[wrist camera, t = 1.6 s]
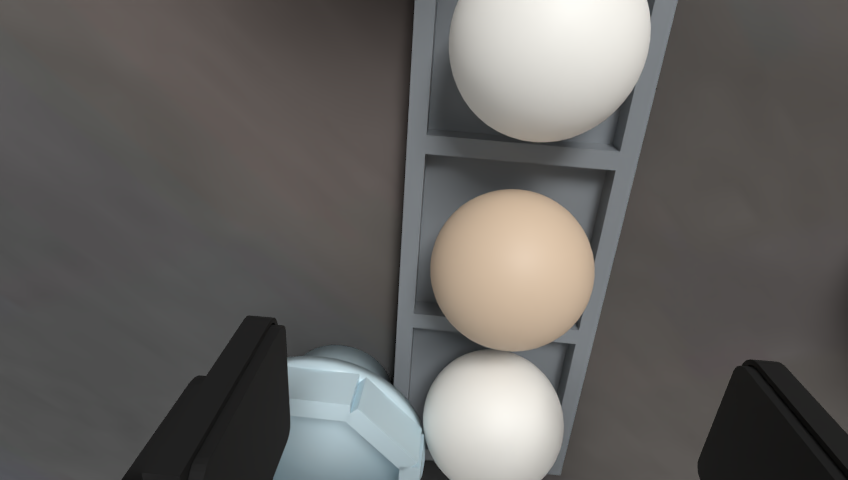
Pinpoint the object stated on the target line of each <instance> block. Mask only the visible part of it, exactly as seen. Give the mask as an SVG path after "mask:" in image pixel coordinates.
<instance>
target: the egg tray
mask: <svg viewBox="0 0 848 480" xmlns="http://www.w3.org/2000/svg"><path fill="white" fill-rule="evenodd" d="M677 1H678V0H647V2H648V6H649V11H650V21H651V35H650V44H649V50H648V55H647V58H646V62H645V65H644V68H643V70H642V72H641V75H640V77H639V79H638V81H637V83H636V85H635V86H634V88H633V90H632V91H631V93H630V94H629V96H628V97H627V98H626V100H625V101H624V102H623V103H622V104H621V105H620V107H619V108H618V109H617V110H616V111H615V112H614V113H613V114H611V115H610V116H609V117H608V118H607V119H606V120H604V121H603V122H601V123H600V124H598V125H597V126H595V127H594V128H592V129H590V130H588V131H586V132H584V133H582V134H580V135H577V136H575V137H572V138H569V139H564V140H560V141H553V142H530V141H523V140H519V139H516V138H512V137H509V136H507V135H504V134H502V133H500V132H498V131H496V130H494V129H493V128H491V127H489V126H488V125H487V124H485V123H484V122H483V121H482V120H481V119H479V118H478V117H477V116H476V115H475V113H474V112H473V111H472V110H471V109H470V108H469V106H468V105H467V104H466V102H465V101H464V99H463V97H462V96H461V94H460V92H459V90H458V88H457V85H456V82H455V80H454V77H453V73H452V69H451V65H450V58H449V33H450V26H451V21H452V17H453V14H454V10H455V7H456V5H457V2H458V0H415V6H414V24H413V42H412V60H411V78H410V97H409V115H408V133H407V151H406V170H405V188H404V206H403V224H402V243H401V261H400V279H399V297H398V316H397V334H396V352H395V370H394V387H395V388H397V389H398V390H399V391H400V392H401V393H402V394H403V395H404V396H405V397H406V398H407V400H408V401H409V402H410V404H411V405H412V406H413V408H414V409H415V411H416V413H417V415H418V417H419V419H420V421H421V424H422V427H423V412H424V405H425V401H426V397H427V394H428V392H429V389H430V387H431V385H432V383H433V382H434V380H435V379H436V377H437V376H438V374H439V373H440V372H441V371H442V370H443V369H444V368H445V367H446V366H447V365H448V364H450V363H451V362H452V361H453V360H455V359H457V358H458V357H460V356H462V355H464V354H467V353H470V352H473V351H478V350H484V349H492V348H488V347H485V346H483V345H480V344H477V343H476V342H474V341H472V340H470V339H468V338H467V337H466V336H464V335H463V334H462V333H460V332H459V331H458V330H457V329H456V328H455V327H454V326H453V325H452V324H451V323H450V322H449V321H448V319H447V318H446V317H445V315H444V314H443V312H442V310H441V309H440V307H439V305H438V303H437V301H436V298H435V295H434V292H433V288H432V284H431V277H430V262H431V255H432V251H433V248H434V244H435V241H436V238H437V236H438V234H439V232H440V230H441V229H442V227H443V226H444V224H445V223H446V221H447V220H448V219H449V218H450V216H451V215H452V214H453V213H454V212H455V211H456V210H457V209H458V208H460V207H461V206H462V205H464V204H465V203H467V202H468V201H470V200H471V199H473V198H475V197H477V196H480V195H483V194H485V193H488V192H492V191H497V190H505V189H520V190H527V191H532V192H535V193H539V194H541V195H544V196H546V197H548V198H550V199H552V200H554V201H555V202H557V203H559V204H560V205H561V206H563V207H564V208H565V209H566V210H568V211H569V212H570V213H571V214H572V215H573V216H574V218H575V219H576V220H577V221H578V223H579V224H580V226H581V227H582V229H583V230H584V232H585V234H586V236H587V238H588V240H589V243H590V246H591V249H592V252H593V257H594V267H595V278H594V285H593V289H592V293H591V296H590V299H589V302H588V304H587V306H586V308H585V310H584V312H583V313H582V315H581V316H580V318H579V319H578V321H577V322H576V323H575V324H574V325H573V326H572V328H570V329H569V330H568V331H567V332H566V333H565V334H563V335H562V336H560V337H559V338H558V339H556V340H554V341H552V342H551V343H549V344H547V345H544V346H542V347H539V348H535V349H532V350H526V351H515V352H512V351H508V352H511V353H514V354H516V355H519V356H521V357H523V358H525V359H526V360H528V361H530V362H531V363H532V364H534V365H535V366H536V367H537V368H538V369H539V370H540V371H541V372H542V373H543V374H544V375H545V376H546V377H547V378H548V380H549V381H550V383H551V384H552V386H553V388H554V389H555V391H556V393H557V396H558V398H559V401H560V404H561V408H562V412H563V420H564V434H563V440H562V445H561V449H560V452H559V454H558V456H557V459H556V461H555V463H554V464H553V466H552V468H551V469H550V470H549V472H548V473H547V474H553V475H561V470H562V466H563V462H564V458H565V454H566V450H567V446H568V442H569V438H570V434H571V430H572V426H573V422H574V418H575V414H576V410H577V406H578V402H579V398H580V394H581V390H582V386H583V382H584V377H585V373H586V369H587V365H588V361H589V357H590V353H591V349H592V345H593V341H594V337H595V333H596V329H597V325H598V321H599V317H600V313H601V309H602V305H603V301H604V297H605V293H606V288H607V284H608V280H609V276H610V272H611V268H612V264H613V260H614V256H615V252H616V248H617V244H618V240H619V236H620V232H621V228H622V224H623V220H624V216H625V212H626V208H627V204H628V200H629V195H630V191H631V187H632V183H633V179H634V175H635V171H636V167H637V163H638V159H639V155H640V151H641V147H642V143H643V139H644V135H645V131H646V127H647V123H648V119H649V115H650V111H651V106H652V102H653V98H654V94H655V90H656V86H657V82H658V78H659V74H660V70H661V66H662V62H663V58H664V54H665V50H666V46H667V42H668V38H669V34H670V30H671V26H672V22H673V17H674V13H675V9H676V5H677ZM425 460H430V461H434V459H433V457H432V455H431V453H430V451H429V449H428V446H427V443H426V452H425Z"/></svg>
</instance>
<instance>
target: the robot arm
mask: <svg viewBox="0 0 848 480" xmlns="http://www.w3.org/2000/svg"><path fill="white" fill-rule="evenodd" d="M289 432H290V404H289V385H288V366H287V346H286V330H285V326H282V325H277V321H276V319H275V318H271V317H260V316H247V317H246V318H245V319H244V320H243V322H242V323H241V325H240V326H239V328H238V329H237V331H236V332H235V334H234V335H233V337H232V338H231V340H230V341H229V343H228V344H227V346H226V347H225V349H224V350H223V352H222V353H221V355H220V356H219V358H218V359H217V361H216V362H215V364H214V365H213V367H212V368H211V370H210V371H209V373H208V374H207V376H197V377H195V378H194V379H193V380H192V381H191V382H190V383H189V384H188V386H187V387H186V389H185V390H184V392H183V393H182V394H181V396H180V397H179V399H178V400H177V401H176V403H175V404H174V406H173V407H172V409H171V410H170V411H169V413H168V414H167V416H166V417H165V419H164V420H163V421H162V423H161V424H160V426H159V427H158V429H157V430H156V431H155V433H154V434H153V436H152V437H151V439H150V440H149V441H148V443H147V444H146V446H145V447H144V449H143V450H142V451H141V453H140V454H139V456H138V457H137V458H136V460H135V461H134V463H133V464H132V466H131V467H130V468H129V470H128V471H127V473H126V474H125V476H124V477H123V478H122V480H273V477H274V475H275V472H276V470H277V467H278V464H279V462H280V459H281V456H282V454H283V451H284V449H285V446H286V443H287V441H288V437H289ZM698 474H699V477H700V480H848V434H847V433H846V432H845V431H844V430H843V429H842V428H841V427H840V426H839V425H838V424H837V422H836V421H835V420H834V419H833V418H832V417H831V416H830V415H829V414H828V413H827V412H826V410H825V409H824V408H823V407H822V406H821V405H820V404H819V403H818V402H817V401H816V400H815V398H814V397H813V396H812V395H811V394H810V393H809V392H808V391H807V390H806V389H805V388H804V386H803V385H802V384H801V383H800V382H799V381H798V380H797V379H796V378H795V377H794V376H793V374H792V373H791V372H790V371H789V370H788V369H787V368H786V367H785V366H784V365H783V364H781V363H779V362H773V361H762V360H746V361H745V362H744V363H743V364H742V366H737V367H736V368H735V370H734V371H733V374H732V376H731V379H730V381H729V384H728V386H727V389H726V391H725V394H724V396H723V399H722V401H721V404H720V407H719V409H718V412H717V414H716V417H715V419H714V422H713V424H712V427H711V429H710V432H709V434H708V437H707V439H706V442H705V444H704V447H703V450H702V452H701V455H700V457H699V460H698Z"/></svg>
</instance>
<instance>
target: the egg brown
mask: <svg viewBox="0 0 848 480" xmlns="http://www.w3.org/2000/svg"><path fill="white" fill-rule="evenodd" d="M430 277H431V284H432V288H433V292H434V295H435V298H436V301H437V303H438V305H439V307H440V309H441V310H442V312H443V314H444V315H445V317H446V318H447V319H448V321H449V322H450V323H451V324H452V325H453V326H454V327H455V328H456V329H457V330H458V331H459V332H460V333H462V334H463V335H464V336H466V337H467V338H468V339H470V340H472V341H474V342H476V343H477V344H480V345H483V346H485V347H488V348H492V349H495V350H501V351H512V352H515V351H526V350H532V349H535V348H539V347H542V346H544V345H547V344H549V343H551V342H552V341H554V340H556V339H558V338H559V337H560V336H562V335H563V334H565V333H566V332H567V331H568V330H569V329H570V328H572V326H573V325H574V324H575V323H576V322H577V321H578V319H579V318H580V316H581V315H582V313H583V312H584V310H585V308H586V306H587V304H588V302H589V299H590V296H591V293H592V289H593V285H594V278H595V267H594V257H593V252H592V249H591V246H590V243H589V240H588V238H587V236H586V234H585V232H584V230H583V229H582V227H581V226H580V224H579V223H578V221H577V220H576V219H575V218H574V216H573V215H572V214H571V213H570V212H569V211H568V210H566V209H565V208H564V207H563V206H561V205H560V204H559V203H557V202H555V201H554V200H552V199H550V198H548V197H546V196H544V195H541V194H539V193H535V192H532V191H527V190H520V189H505V190H497V191H492V192H488V193H485V194H483V195H480V196H477V197H475V198H473V199H471V200H470V201H468V202H467V203H465V204H464V205H462V206H461V207H460V208H458V209H457V210H456V211H455V212H454V213H453V214H452V215H451V216H450V218H449V219H448V220H447V221H446V223H445V224H444V226H443V227H442V229H441V230H440V232H439V234H438V236H437V238H436V241H435V244H434V248H433V251H432V255H431V262H430Z"/></svg>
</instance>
